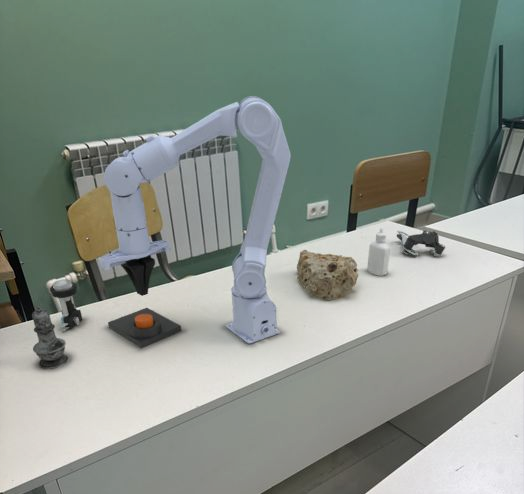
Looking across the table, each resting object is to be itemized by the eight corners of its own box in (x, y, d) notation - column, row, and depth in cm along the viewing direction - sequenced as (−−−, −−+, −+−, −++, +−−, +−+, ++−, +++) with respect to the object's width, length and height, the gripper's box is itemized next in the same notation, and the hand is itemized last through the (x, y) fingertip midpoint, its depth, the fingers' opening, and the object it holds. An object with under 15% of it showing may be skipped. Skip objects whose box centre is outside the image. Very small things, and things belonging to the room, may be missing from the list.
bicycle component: (394, 233, 150) (397, 251, 138) (406, 213, 146) (410, 229, 134) (428, 249, 151) (434, 268, 138) (441, 229, 147) (448, 246, 134)
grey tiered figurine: (37, 357, 94) (20, 302, 88) (68, 350, 96) (54, 296, 90) (37, 372, 90) (20, 315, 83) (70, 365, 92) (55, 309, 85)
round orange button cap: (156, 324, 99) (155, 317, 98) (142, 330, 97) (140, 323, 96) (147, 319, 101) (146, 311, 101) (132, 325, 99) (131, 317, 98)
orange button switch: (181, 331, 102) (180, 318, 101) (141, 348, 96) (139, 335, 95) (147, 312, 110) (145, 300, 109) (108, 327, 104) (106, 314, 103)
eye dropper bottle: (381, 268, 131) (386, 225, 125) (388, 276, 127) (394, 231, 120) (365, 269, 131) (370, 226, 125) (372, 277, 126) (377, 232, 120)
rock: (287, 275, 130) (295, 239, 126) (336, 283, 133) (346, 248, 130) (304, 299, 112) (315, 257, 108) (361, 308, 115) (373, 267, 111)
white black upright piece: (74, 334, 102) (63, 291, 97) (51, 332, 103) (39, 289, 98) (89, 319, 108) (79, 278, 103) (67, 318, 109) (57, 277, 104)
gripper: (152, 214, 96) (160, 278, 103) (85, 231, 87) (99, 299, 94) (172, 221, 92) (180, 286, 99) (104, 239, 83) (118, 309, 90)
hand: (142, 293), depth 96 cm, fingers closed
